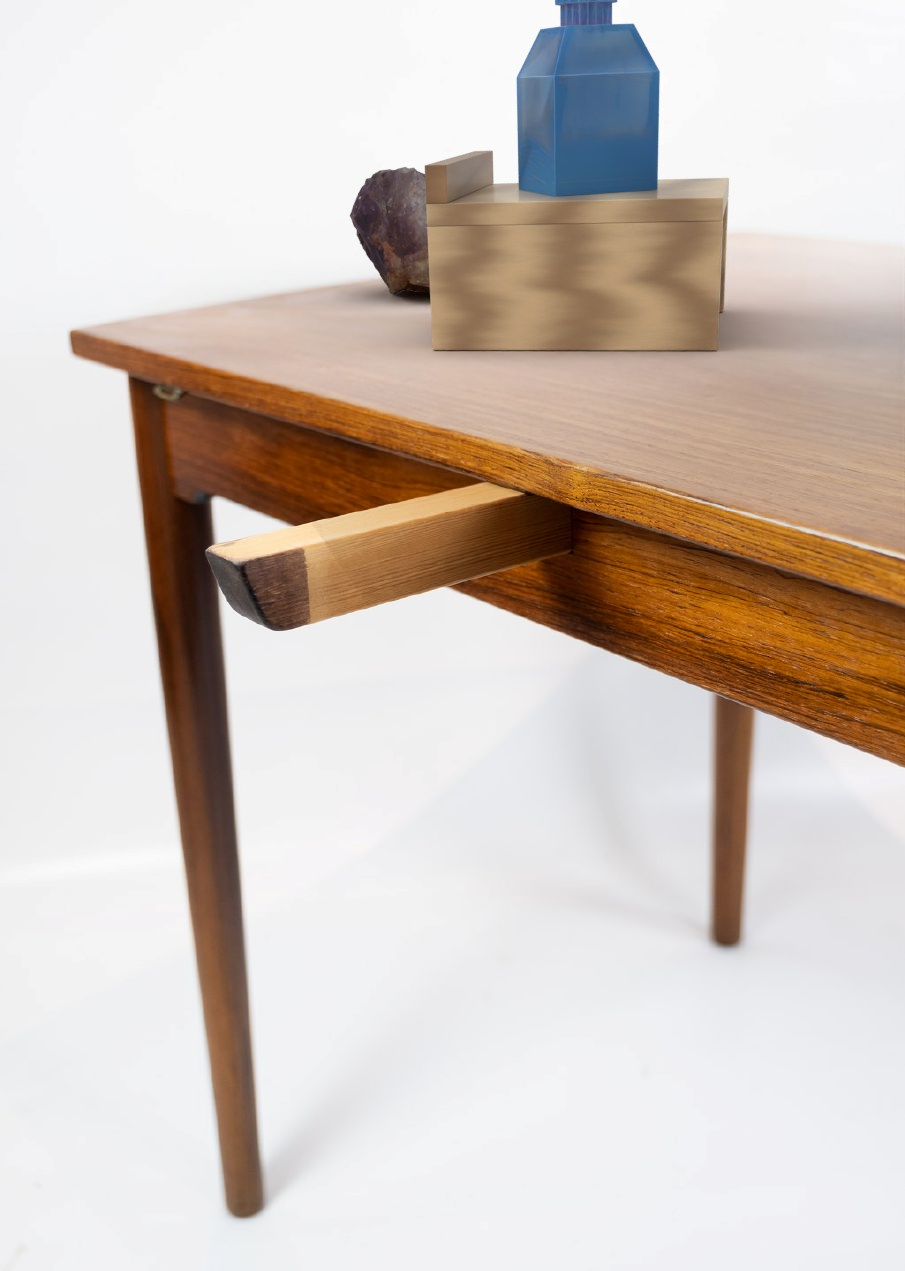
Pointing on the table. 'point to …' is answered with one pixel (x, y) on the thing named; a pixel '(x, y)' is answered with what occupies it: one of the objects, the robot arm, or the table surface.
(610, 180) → the perfume bottle
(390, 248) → the rock
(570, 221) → the wooden box with backstop
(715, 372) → the table surface
